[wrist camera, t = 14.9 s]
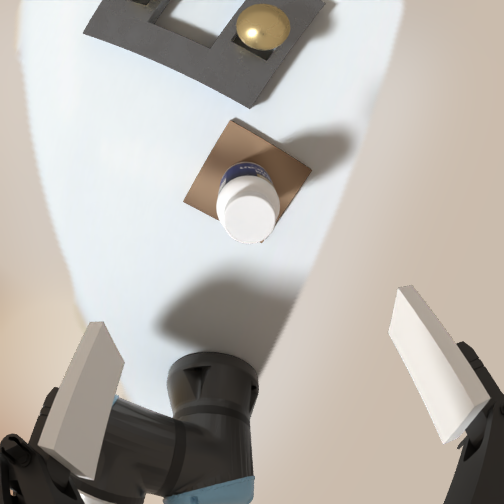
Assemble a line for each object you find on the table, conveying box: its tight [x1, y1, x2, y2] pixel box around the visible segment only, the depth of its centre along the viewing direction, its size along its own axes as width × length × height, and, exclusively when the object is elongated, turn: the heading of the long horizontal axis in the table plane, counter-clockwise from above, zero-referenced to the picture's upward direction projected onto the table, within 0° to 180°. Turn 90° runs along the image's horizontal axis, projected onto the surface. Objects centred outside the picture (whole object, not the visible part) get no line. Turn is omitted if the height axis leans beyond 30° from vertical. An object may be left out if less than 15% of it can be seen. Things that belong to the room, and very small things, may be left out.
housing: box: [83, 0, 325, 109], centre depth 21 cm, size 14×20×2 cm
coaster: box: [183, 120, 312, 243], centre depth 31 cm, size 10×10×1 cm
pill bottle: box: [216, 162, 280, 244], centre depth 27 cm, size 5×5×10 cm
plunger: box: [236, 4, 290, 50], centre depth 21 cm, size 4×4×4 cm
